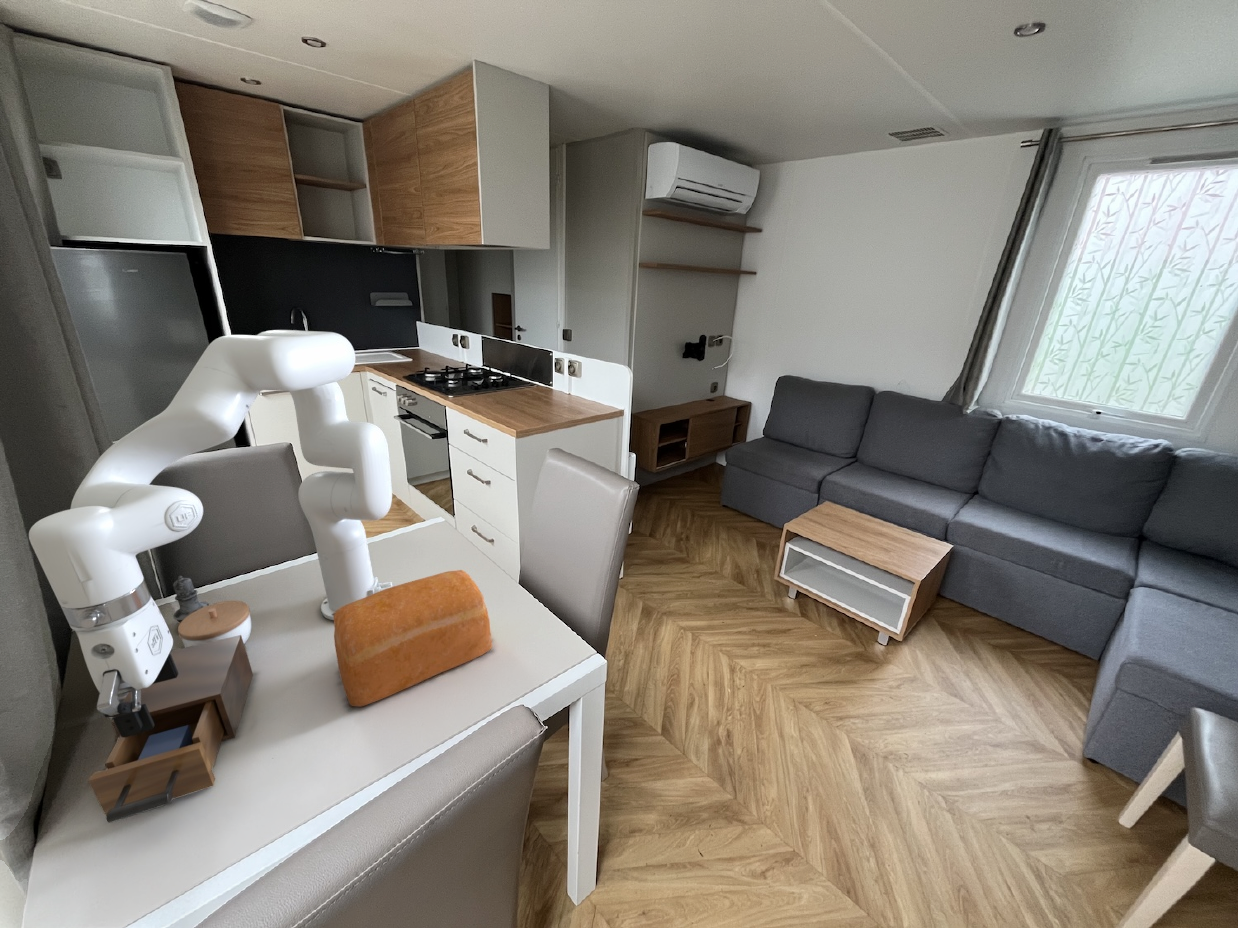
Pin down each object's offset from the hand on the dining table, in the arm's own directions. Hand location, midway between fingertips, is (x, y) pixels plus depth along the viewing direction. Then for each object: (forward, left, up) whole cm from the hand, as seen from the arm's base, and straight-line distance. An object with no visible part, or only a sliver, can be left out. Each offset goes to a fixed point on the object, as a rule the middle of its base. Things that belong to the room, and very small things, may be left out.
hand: (152, 704), depth 68 cm
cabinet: (+2, -11, -13) cm, 17 cm away
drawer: (0, +1, -12) cm, 12 cm away
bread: (-32, -16, -13) cm, 38 cm away
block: (0, +1, -11) cm, 11 cm away
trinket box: (+5, -28, -13) cm, 31 cm away
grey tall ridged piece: (+14, -38, -13) cm, 42 cm away
